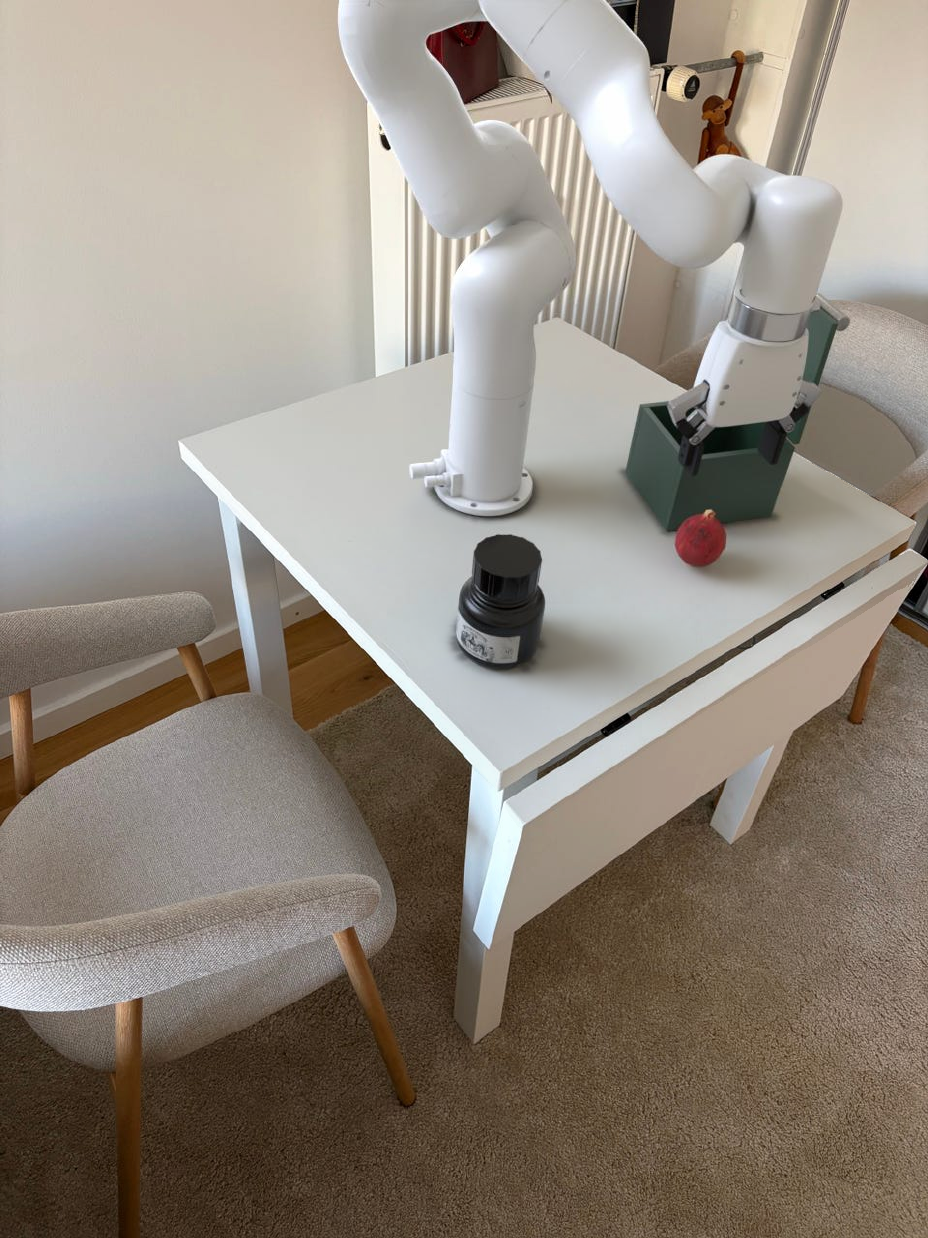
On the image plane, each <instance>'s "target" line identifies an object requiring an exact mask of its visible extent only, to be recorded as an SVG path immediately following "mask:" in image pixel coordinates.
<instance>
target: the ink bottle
mask: <svg viewBox="0 0 928 1238" xmlns="http://www.w3.org/2000/svg"><path fill="white" fill-rule="evenodd" d="M542 563H543V558H542V551H541V550H540V549H539V548H538V547H537V546H536V544H535V543H534V542H531V541H530V540H528V539H526V538H525V537H523V536H518V535H514V534H499V533H497V534H495V535H491V536H487V537H485V538H484V539H482V540H481V541H479V542H477V544H476V547H475V548H474V550H473V556H472V567H471V576H470V577H469V578H468V579H467V580H466V581H465V582H464V583H463V584H462V586H461V589H460V591H459V596H458V606H457V607H458V608H457V616H456V628H455V629H456V630H455V639H456V643H457V646H458V648H459V649H460V651H461V652H462V653H463V654H464V655H465V656H466V657H467V658H468V659H470V660H471V661H472V662H474V663H476V664H478V665H481V666H482V667H486V668H490V669H494V670H507V669H511V668H515V667H518V666H520V665H522V664H524V663H526V662H528V661H529V660H530V659H531V658H532V657H533V656H534V655H535V654H536V653H537V650H538V648H539V645H540V639H541V633H542V628H543V622H544V615H545V610H546V596H545V593H544V591H543V590H542V588H541V586H540V585H539V582H540V577H541V571H542Z"/></svg>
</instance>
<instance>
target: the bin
mask: <svg viewBox="0 0 928 1238" xmlns="http://www.w3.org/2000/svg"><path fill="white" fill-rule="evenodd" d="M669 401H670V400H666V401H659V402H658V401H657V402H648V403H641V404H639V406H638V411H637V414H636V415H637V416H636V420H635V424H634V430H633V435H632V438H631V442H630V443H631V444H630V448H629V452H628V458H627V462H626V467H625V471H624V473H625V474H626V476H627V478H628V479H629V480H630V482H631V484H632V485H633V486H634V488H635V489H636V491H637V492H638V493H639V494H640V496H641V498H642V499H643V500H644V502H645V503H646V504H647V506H648V507H649V509H650V510H651V511H652V513H653V514H654V516H655V517H656V519H657V520H658V521H659V523H660V524H661V526H662V527H663V528H664V530H665V532H672V531H678V529H679V527H680V526H681V524H682V523H683V522H684V521H685V520H686V519H688V518H690V517H692V516H694V515H697V514H703V513H704V512H705V511H706V510H710V509H711V510H713V511H714V512H715V516H714V517H715V518H716V519H717V520H718V521H719V522H720V523H721V524H726V523H727V524H728V523H733V522H735V523H736V522H740V521H742V522H743V521H747V520H755V519H761V518H768V517H772V515H773V511H774V509H775V507H776V503H777V500H778V498H779V494H780V492H781V489H782V487H783V484H784V481H785V477H786V475H787V473H788V470H789V466H790V464H791V461H792V458H793V455H794V452H795V450H796V447H795V445H794V444H793V443H792V442H791V441H790V440H789V439H788V438H787V437H786V439H785V442H784V445H783V448H782V451H781V453H780V456H779V460H778V463H777V464H775V465H771V464H769V463H768V462H767V461H766V459H765V458H764V457H763V456H762V455H761V454H760V453H759V452H758V446H759V442H760V439H761V436H762V432H763V429H764V425H765V423H766V422H759V423H751V424H743V425H736V426H728V427H715V428H714V429H713V430H712V431H711V432H710V433H709V434H708V435H707V436H706V437H705V438H704V439H703V440H702V441H701V442H702V443H703V444H704V451H703V455H702V459H701V462H700V466H699V470H698V474H696V476H690V475H689V474H688V473H687V471H686V470H685V469H684V468H683V466H682V465H681V464H680V463H679V460H678V454H679V450H680V446H681V442H682V437H683V434H682V433H681V432H680V431H679V430H678V428H677V427H676V426H675V425H674V424H673V422H672V418H671V416H670V413H669V410H668V407H667V404H668V402H669ZM695 409H696V408H693V407H692V408H690V409H689V410H687V412H686V419H687V418H688V417H689V416H690V415H691V414H692V412H693V411H694V410H695ZM704 421H705V420H704V418H703V419H702V420H701V421H700V422H699V423H698V424H697V425H696V426H695V427H694V428H695V430H696V429H697V428H698V427H699V426H700V425H701V424H702V423H703V422H704Z"/></svg>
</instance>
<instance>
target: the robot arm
mask: <svg viewBox="0 0 928 1238" xmlns="http://www.w3.org/2000/svg"><path fill="white" fill-rule="evenodd" d="M470 22H488V23H489V24H490V26H491V27H492V28H493V29H494V30H495V31H496V33H497V34H498V35H499V36H500V37H501V38H502V40H503V41H504V42H505V43H506V44H507V45H508V47H509V48H510V49H511V50H512V51H513V53H514V54H515V55H517V58H519V59H520V60H521V61H522V63H524V65H525V66H526V67H527V69H529V70H530V71H531V73H532V74H533V75H534V76H535V78H536V79H537V80H539V82H540V83H541V84H542V85H543V86H544V87H545V89H546V90H547V91H548V92H549V93H550V95H551V96H552V97H553V98H554V99H555V100H556V102H557V103H558V104H559V105H560V106H561V107H562V109H563V110H564V111H565V112H566V113H567V114H568V115H569V116H570V118H572V120H573V121H574V123H575V124H576V126H577V128H578V130H579V133H580V136H581V140H582V143H583V147H584V150H585V152H586V154H587V157H588V160H589V162H590V164H591V166H592V168H593V171H594V173H595V176H596V179H597V180H598V183H599V184H600V186H601V188H602V190H603V192H604V194H605V195H606V197H607V199H608V200H609V201H610V203H611V205H612V206H613V207H614V209H615V210H616V211H617V212H618V214H619V215H620V216H621V217H622V218H623V219H624V221H625V222H626V223H627V224H628V225H629V227H630V228H631V229H632V230H633V231H634V232H635V233H636V234H637V236H638V237H639V238H640V239H641V240H642V241H643V242H644V243H645V245H646V246H648V248H650V249H651V250H652V251H653V252H654V253H655V254H656V255H657V256H658V257H660V258H662V259H663V260H664V261H665V262H667V263H669V264H670V265H673V266H676V267H677V268H682V269H685V270H686V269H687V270H691V269H692V270H696V269H700V268H704V267H707V266H709V265H711V264H713V263H715V262H716V261H717V260H719V259H720V258H721V257H722V256H723V255H725V253H726V252H727V251H729V249H730V248H731V247H732V246H733V244H737V243H740V244H741V245H743V253H742V257H741V261H740V265H739V270H738V274H737V278H736V281H735V285H734V290H733V293H732V298H731V301H730V306H729V310H728V313H727V318H726V320H722V321H719V322H718V324H717V325H716V327H715V329H714V330H713V333H712V335H711V337H710V338H709V341H708V344H707V346H706V348H705V350H704V353H703V356H702V358H701V361H700V365H699V367H698V371H697V374H696V377H695V381H694V384H693V387H692V388H690V389H688V390H687V391H685V392H683V393H681V394H680V395H678V396H676V397H674V398H672V399H670V400H668V401H669V402H668V404H667V407H668V410H669V413H670V416H671V418H672V422H673V424H674V425H675V426H676V427H677V428H678V430H679V431H680V432H681V433H682V434H683V437H682V442H681V446H680V450H679V454H678V460H679V463H680V464H681V465H682V466H683V468H684V469H685V470H686V471H687V473H688V474H689V475H690V476H696V474H698V470H699V466H700V462H701V459H702V455H703V451H704V444H703V443H702V442H701V441H702V440H703V439H704V438H705V437H706V436H707V435H708V434H709V433H710V432H711V431H712V430H713V429H714V428H715V427H728V426H736V425H743V424H751V423H759V422H766V423H765V425H764V429H763V432H762V436H761V439H760V442H759V446H758V452H759V453H760V454H761V455H762V456H763V457H764V458H765V459H766V461H767V462H768V463H769V464H771V465H775V464H777V463H778V460H779V456H780V453H781V451H782V448H783V445H784V442H785V439H786V438H787V437H786V435H787V433H789V432H791V431H793V430H794V428H795V423H796V422H797V421H799V420H800V419H801V418H802V417H803V416H804V415H806V414H807V413H808V411H809V406H811V405H812V406H813V404H814V403H815V402H816V400H817V399H818V398H819V397H820V395H821V394H822V389H821V388H820V387H819V385H818V386H817V385H815V384H814V383H813V382H811V381H809V380H807V379H805V378H803V374H804V369H805V364H806V358H807V350H808V337H809V332H808V329H807V328H806V327H807V324H808V321H809V317H810V315H811V314H812V313H817V312H818V311H819V310H820V302H819V300H818V299H815V297H816V294H817V293H818V291H819V288H820V283H821V281H822V277H823V274H824V272H825V268H826V265H827V262H828V258H829V255H830V252H831V249H832V245H833V242H834V239H835V235H836V233H837V229H838V226H839V222H840V219H841V215H842V211H843V207H844V206H843V205H844V204H843V197H842V194H841V192H840V191H839V190H838V189H837V187H835V186H834V185H832V184H831V183H828V182H826V181H825V180H821V179H819V178H815V177H811V176H806V175H795V174H794V175H790V174H789V175H787V174H785V173H782V172H778V171H777V170H774V169H771V168H768V167H766V166H764V165H762V164H759V163H757V162H755V161H753V160H751V159H748V158H745V157H742V156H739V155H735V154H729V153H725V154H724V153H721V154H716V155H712V156H710V157H707V158H705V159H704V160H702V161H701V162H700V163H698V164H697V165H696V166H695V167H693V168H692V167H691V166H690V164H689V163H688V162H687V161H686V159H684V157H683V156H682V155H681V154H680V153H679V151H678V150H677V149H676V147H675V146H674V145H673V143H672V142H671V141H670V139H669V138H668V136H667V135H666V133H665V131H664V129H663V127H662V126H661V124H660V121H659V119H658V117H657V115H656V111H655V108H654V104H653V100H652V93H651V61H650V56H649V52H648V49H647V47H646V45H645V44H644V42H643V41H642V40H641V39H640V38H639V37H638V36H637V35H636V33H635V32H634V31H633V30H632V28H630V27H629V25H627V23H626V22H625V21H624V19H622V18H621V16H620V15H619V14H618V12H616V11H615V9H614V8H613V7H612V6H611V5H610V3H608V2H607V0H338V9H337V25H338V26H337V27H338V36H339V42H340V47H341V50H342V53H343V56H344V59H345V61H346V63H347V67H348V68H349V70H350V73H351V74H352V76H353V78H354V80H355V82H356V84H357V86H358V88H359V89H360V91H361V92H362V94H363V96H364V98H365V99H366V101H367V102H368V105H369V106H370V108H371V110H372V111H373V114H374V115H375V117H376V119H377V121H378V123H379V125H380V126H381V129H382V130H383V133H384V135H385V137H386V139H387V142H388V144H389V146H390V149H391V151H392V152H393V153H392V154H394V155H393V156H394V157H395V159H396V161H397V163H398V165H399V167H400V170H401V171H402V173H403V175H404V178H405V180H406V182H407V184H408V185H409V188H410V189H411V192H412V194H413V197H414V198H415V200H416V202H417V204H418V207H419V209H420V211H421V212H422V214H423V217H425V219H426V221H427V222H428V224H429V226H430V227H431V228H432V229H433V230H434V231H435V232H436V233H437V234H439V236H442V237H444V238H447V239H451V240H459V239H465V238H467V237H470V236H473V235H474V234H475V235H476V234H477V233H478V232H480V231H482V230H483V229H484V228H485V230H486V231H487V234H488V236H489V239H488V240H485V242H483V243H482V244H480V245H479V246H478V247H477V248H475V249H474V250H473V251H471V252H470V253H469V255H467V256H466V258H465V259H464V260H463V262H462V263H460V266H459V267H458V268H457V270H456V272H455V274H454V276H453V279H452V284H451V288H450V309H451V310H450V311H451V318H452V327H453V338H454V339H453V363H452V364H453V366H452V388H451V403H450V415H449V416H450V418H449V433H448V446H447V447H448V448H445V449H443V448H442V449H440V457H438V458H434V459H433V461H429V462H417V463H410V464H409V467H408V470H409V471H408V472H409V477H410V479H411V480H417V479H418V480H419V479H423V482H424V483H423V484H424V487H425V488H426V489H427V488H434V491H435V493H436V495H437V497H438V498H439V499H440V500H441V501H442V502H443V503H444V504H446V505H447V506H449V507H451V508H452V509H454V510H456V511H459V512H462V513H463V514H468V515H473V516H479V517H497V516H504V515H507V514H510V513H511V514H512V513H513V512H516V511H518V510H520V509H521V508H523V507H524V506H525V505H526V504H527V503H528V502H530V499H531V497H532V494H533V488H534V483H533V478H532V475H531V474H530V473H529V471H528V470H527V469H526V468H525V467H524V463H525V455H526V448H527V440H528V432H529V426H530V425H529V424H530V415H531V408H532V402H533V395H534V394H533V393H534V385H535V375H536V368H537V366H536V365H537V348H536V342H535V333H534V332H535V324H536V320H537V318H538V317H539V315H540V314H541V313H542V312H543V311H544V310H545V309H546V308H547V307H548V306H549V305H550V304H551V303H552V302H553V301H554V300H556V299H557V298H558V297H559V296H560V295H561V294H562V293H563V292H564V291H565V289H567V287H568V286H569V284H570V283H571V281H572V280H573V278H574V275H575V272H576V266H577V251H576V246H575V242H574V239H573V235H572V233H571V230H570V228H569V225H568V223H567V221H566V218H565V216H564V214H563V211H562V209H561V206H560V204H559V202H558V200H557V197H556V195H555V193H554V191H553V190H554V189H553V188H552V186H551V185H552V184H551V183H550V180H549V178H548V176H547V174H546V172H545V169H544V167H543V165H542V162H541V160H540V158H539V156H538V153H537V152H536V149H534V147H533V145H532V144H531V142H530V141H529V140H528V139H527V137H526V136H525V135H524V134H523V133H522V132H521V131H520V130H519V129H518V128H516V127H515V126H513V125H512V124H510V123H507V122H506V121H505V122H504V121H501V120H496V119H489V120H482V121H478V122H475V123H474V122H473V120H472V118H471V116H470V114H469V111H468V110H467V108H466V107H465V103H464V101H463V99H462V97H461V94H460V92H459V90H458V87H457V85H456V84H455V82H454V80H453V78H452V76H450V74H449V73H448V71H447V70H446V69H445V68H444V66H443V65H442V64H441V63H440V62H439V60H437V58H436V57H435V56H434V55H433V54H432V53H431V52H430V50H429V48H428V47H427V39H428V38H429V36H430V35H433V34H436V33H439V32H442V31H444V30H447V29H449V28H452V27H454V26H457V25H460V24H463V23H470ZM799 392H800V394H799V396H798V393H799ZM797 396H798V398H797ZM812 406H811V407H812ZM692 407H693V408H696V409H695V410H694V411H693V412H692V414H691V415H690V416H689V417H688V418H687V419H686V412H687V410H689V409H690V408H692ZM703 418H704V420H705V421H704V422H703V423H702V424H701V425H700V426H699V427H698V428H697V429H696V430H695V428H694V427H695V426H696V425H697V424H698V423H699V422H700V421H701V420H702V419H703Z"/></svg>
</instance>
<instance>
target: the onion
mask: <svg viewBox="0 0 928 1238" xmlns="http://www.w3.org/2000/svg"><path fill="white" fill-rule="evenodd" d="M714 516H715V512H714V511H713V510H711V509H710V510H706V511H705V512H704V513H703V514H697V515H694V516H692V517H690V518H688V519H686V520H685V521H684V522H683V523H682V524H681V526H680V527H679V529H678V530H676V533H675V537H674V547H675V550H676V554H677V555H678V557H679V558H680V560H682V561H683V562H684V563H685V564H686V565H689V566H691V567H695V568H700V567H705V566H709V565H711V564H713V563H714V562H716V561H717V560H719V559H720V558H721V556H722V554H723V553H724V551H725V549H726V546H727V532H726V529H725V527H724V525H723V523H720V522H719V521H718V520H717V519H716V518H715V517H714Z"/></svg>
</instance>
